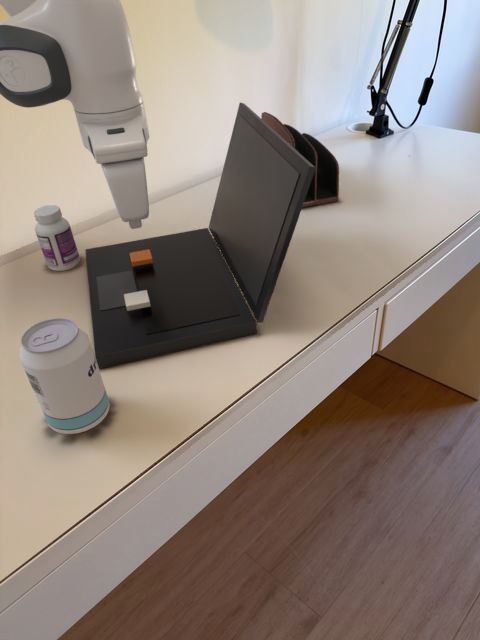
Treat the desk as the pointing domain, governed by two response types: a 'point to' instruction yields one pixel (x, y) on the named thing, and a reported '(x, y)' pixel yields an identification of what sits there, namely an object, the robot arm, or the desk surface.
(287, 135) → the letter holder
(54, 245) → the pill bottle
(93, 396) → the beverage can
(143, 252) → the orange block
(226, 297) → the laptop
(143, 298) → the white flat square block
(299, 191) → the laptop screen
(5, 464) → the desk surface
